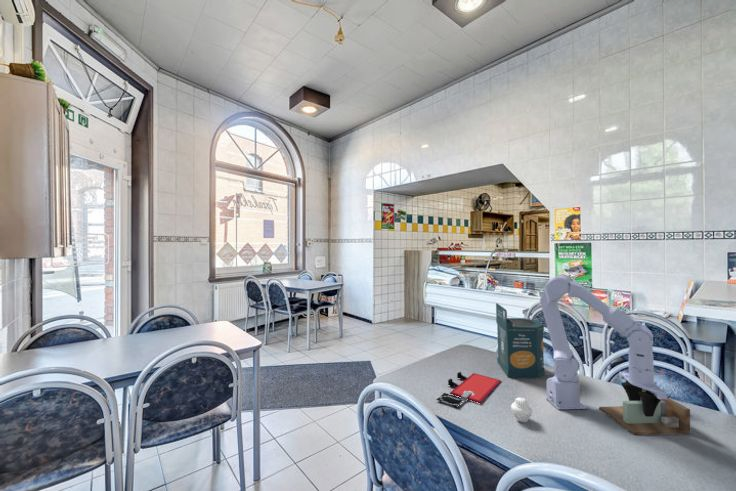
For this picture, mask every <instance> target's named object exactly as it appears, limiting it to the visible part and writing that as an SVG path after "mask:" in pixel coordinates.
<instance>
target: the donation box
mask: <svg viewBox="0 0 736 491" xmlns="http://www.w3.org/2000/svg"><path fill="white" fill-rule="evenodd" d="M495 311H496V312H495V313H496V314H495V317H496V318H495V319H496V325H497V328H496V329H497V357H496V361H497V362H498V363H497V365H498V366H499V365H500V366H499V367H500V369H501V370H502V371H503V373H504V372H505V373H504V374H505V375H506V377H507V378H513V377H518V378H520V379H521V378H523V379H524V378H525V379H526V378H527V379H539V378H541V377H542V376H544V375H545V374H546V368H544V367H545V366H544V365H545V364H544V363H545V361H544V359H545V358H544V354H545V353H544V331H545V326H544V324H543V323H541V322H540V321H539V320H535V319H530V318H526V317H519V318H518V317H508V311H507V309H506V308H505V307H503V306H502V305H501V304H499V303H496V304H495ZM518 378H517V379H518Z"/></svg>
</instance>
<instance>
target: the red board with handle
mask: <svg viewBox="0 0 736 491" xmlns="http://www.w3.org/2000/svg"><path fill="white" fill-rule="evenodd" d="M456 376H457V378H461V379H462V380H463V381H462V382H461V383H460V384H458V383H456V382H454V381H453V378H449V379H447V381H448V383H447V386H448V385H450V386H451V385H452V386H453V387H454V386H455V387H454V389H453V390H451V391H450V392H449V393H446V392H443V393H442V394H440V396H439V397H437V398H436V399H435V400H436V401H439V402H442V403H445V404H448V405H451V406H453V405H454V404H455V405H454V406H453V407H456V406H458V405H459V406H458V407H457V408H460V407H461V406H462V405H460V404H461V403H463V404H464V403H465V402H467V401H468V400H472V401H475V402H478V403H481V402H482V401H483V400H484V399H485V398H486V397H487V396H488V395H489V396H490V394H491V393H492V392H493V391H494V390H495V389H496V388H497V387H498V386H499V385H500V383H501V382H502V380H501V379H497V378H493V377H490V376H487V375H482V374H479V373H475V372H472V374H470V375H469V376H468V377H467V376H465V375H463V374H462V372H461V371H459V372H457V374H456ZM457 378H456V379H457ZM464 379H465V380H464ZM497 385H498V386H497ZM452 386H451V387H452ZM496 386H497V387H496ZM495 387H496V388H495ZM494 388H495V389H494ZM493 389H494V390H493ZM492 390H493V391H492ZM491 391H492V392H491ZM490 392H491V393H490ZM450 394H453V395H456V396H459V397H461V398H459V397H456V396H453V395H450ZM489 396H488V397H489ZM488 397H487V398H488ZM487 398H486V399H487ZM467 399H468V400H467ZM486 399H485V400H486ZM466 400H467V401H466ZM485 400H484V401H485ZM462 401H464V402H462ZM484 401H483V402H484ZM483 402H482V403H483ZM482 403H481V404H482Z"/></svg>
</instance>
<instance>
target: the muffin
mask: <svg viewBox="0 0 736 491" xmlns="http://www.w3.org/2000/svg"><path fill="white" fill-rule="evenodd" d="M510 409H511V411H512V414H513V416H514V417H515V419H517V421H518V422H520V421H521V422H520V423H527V422H528V421H529V419H530V417H531V416H532V414H533V408H532V407H531V405H530V404H529V403H528V400H527V399H526V398H524V397H517V398H515V399H514V402H512V403H511V405H510Z"/></svg>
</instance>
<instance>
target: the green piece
mask: <svg viewBox="0 0 736 491" xmlns="http://www.w3.org/2000/svg"><path fill="white" fill-rule="evenodd" d="M622 406H623V421H625V422H626V423H627V424H632V423H661V417H666V402H665V401H662V400H661V401H660V402H659V404H658V405H657V407H656V409H655V412H654V415H653V416H652V417H647V416H645V415H644V412H643V404H642V401H629V400H623V401H622Z"/></svg>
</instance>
